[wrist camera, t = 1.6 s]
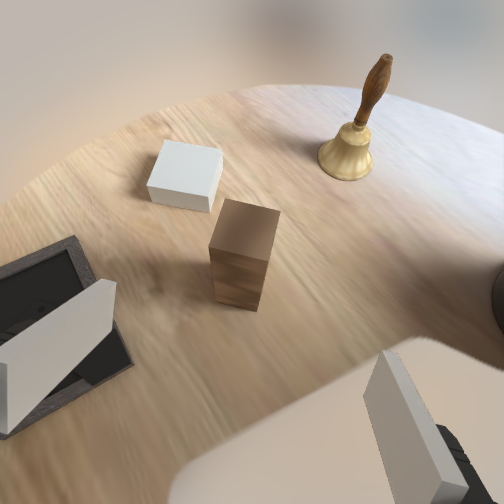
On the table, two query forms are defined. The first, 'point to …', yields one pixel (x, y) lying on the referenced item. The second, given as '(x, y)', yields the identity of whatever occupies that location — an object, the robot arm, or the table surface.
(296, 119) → the table surface
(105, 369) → the picture frame
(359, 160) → the hand bell
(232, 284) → the walnut block
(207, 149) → the white block
